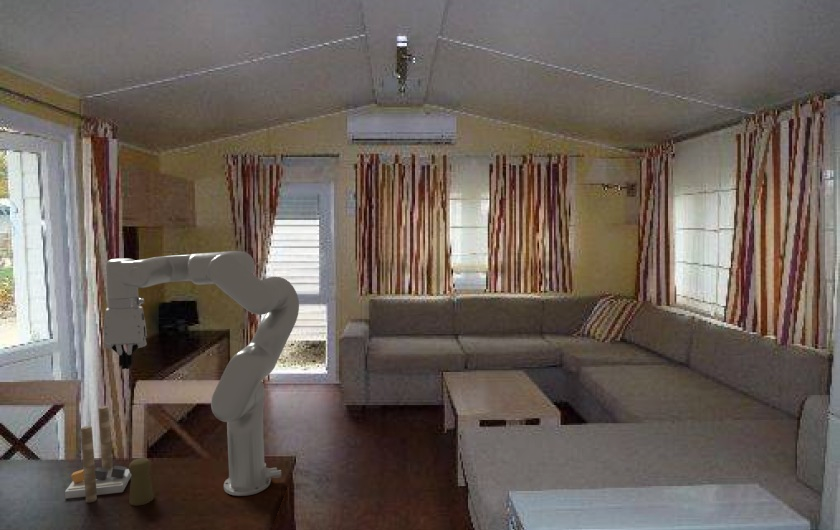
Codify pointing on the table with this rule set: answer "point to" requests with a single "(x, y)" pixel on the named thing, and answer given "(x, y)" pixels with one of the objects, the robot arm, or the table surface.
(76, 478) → the orange block
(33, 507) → the table surface
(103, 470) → the grey block
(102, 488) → the panel
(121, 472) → the grey block
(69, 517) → the table surface
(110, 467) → the post far
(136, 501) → the cork
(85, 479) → the post near
